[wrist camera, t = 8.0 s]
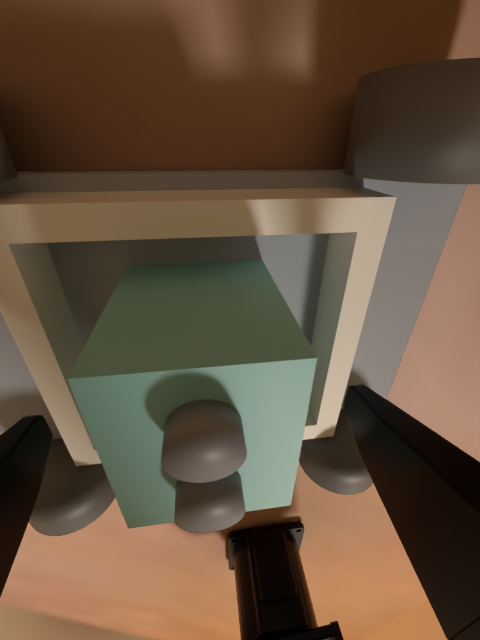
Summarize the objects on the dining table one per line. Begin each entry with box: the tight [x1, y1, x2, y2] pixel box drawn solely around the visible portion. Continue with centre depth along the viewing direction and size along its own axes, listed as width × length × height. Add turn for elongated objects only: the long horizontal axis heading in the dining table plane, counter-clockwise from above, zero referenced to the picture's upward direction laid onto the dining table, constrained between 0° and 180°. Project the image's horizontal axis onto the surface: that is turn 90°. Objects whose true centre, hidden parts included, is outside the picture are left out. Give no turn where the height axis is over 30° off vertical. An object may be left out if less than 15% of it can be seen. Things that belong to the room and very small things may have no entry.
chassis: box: [0, 58, 480, 536], centre depth 12 cm, size 17×20×4 cm
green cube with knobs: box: [67, 259, 317, 533], centre depth 10 cm, size 6×5×7 cm
